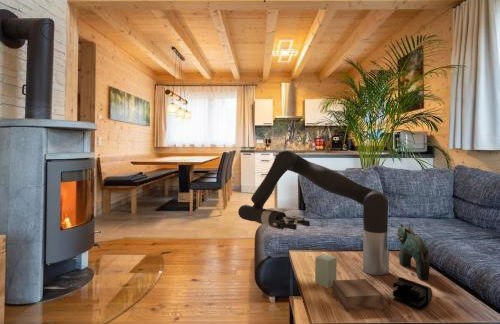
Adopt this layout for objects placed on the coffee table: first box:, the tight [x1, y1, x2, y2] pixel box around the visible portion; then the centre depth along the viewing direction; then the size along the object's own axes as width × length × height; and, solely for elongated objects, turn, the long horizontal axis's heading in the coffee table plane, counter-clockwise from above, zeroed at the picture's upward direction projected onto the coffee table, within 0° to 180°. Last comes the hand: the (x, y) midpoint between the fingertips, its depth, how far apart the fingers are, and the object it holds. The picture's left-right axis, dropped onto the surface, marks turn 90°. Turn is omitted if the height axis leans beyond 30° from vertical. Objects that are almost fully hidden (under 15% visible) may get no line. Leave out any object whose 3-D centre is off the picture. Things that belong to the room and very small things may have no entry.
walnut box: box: [332, 278, 384, 312], centre depth 103 cm, size 12×12×5 cm
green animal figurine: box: [396, 222, 431, 282], centre depth 128 cm, size 20×6×20 cm, turn 178°
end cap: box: [392, 276, 433, 312], centre depth 102 cm, size 10×7×7 cm
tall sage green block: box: [314, 253, 338, 289], centre depth 116 cm, size 6×6×10 cm
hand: (302, 225), depth 124 cm, fingers open, 8 cm apart
